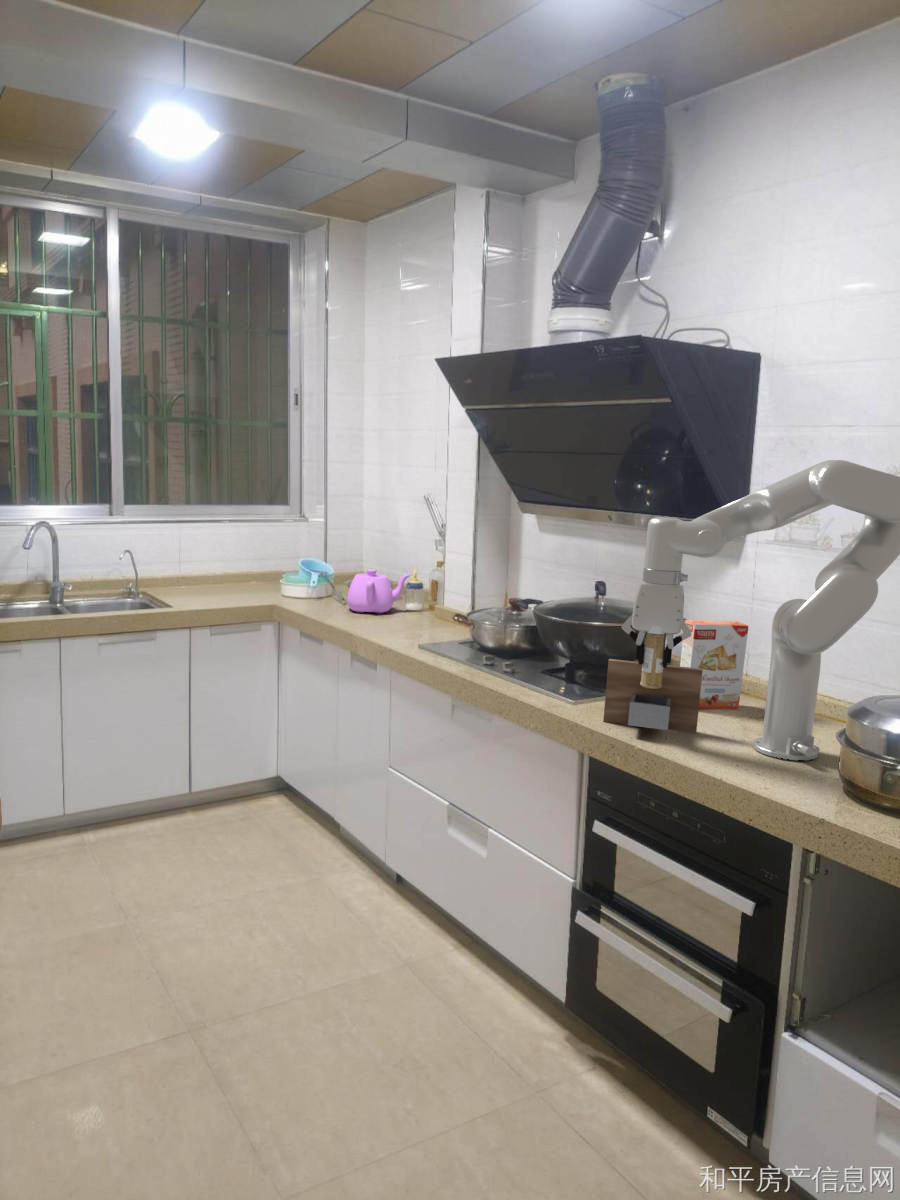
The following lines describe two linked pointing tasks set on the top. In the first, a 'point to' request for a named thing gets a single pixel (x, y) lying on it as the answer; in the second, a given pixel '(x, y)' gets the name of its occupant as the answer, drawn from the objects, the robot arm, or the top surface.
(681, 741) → the top surface
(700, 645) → the cracker box
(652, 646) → the sprinkles bottle
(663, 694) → the wall holder
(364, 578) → the teapot
